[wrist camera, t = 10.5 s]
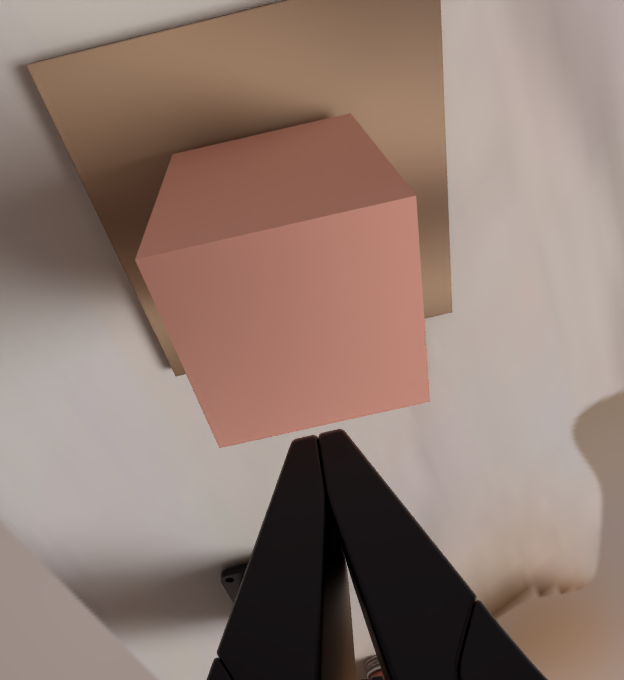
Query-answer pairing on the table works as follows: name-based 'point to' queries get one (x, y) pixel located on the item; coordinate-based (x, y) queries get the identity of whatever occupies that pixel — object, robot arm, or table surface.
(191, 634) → the table surface
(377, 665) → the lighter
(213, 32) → the taupe inverted t block
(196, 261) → the pink rectangular block
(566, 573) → the table surface
